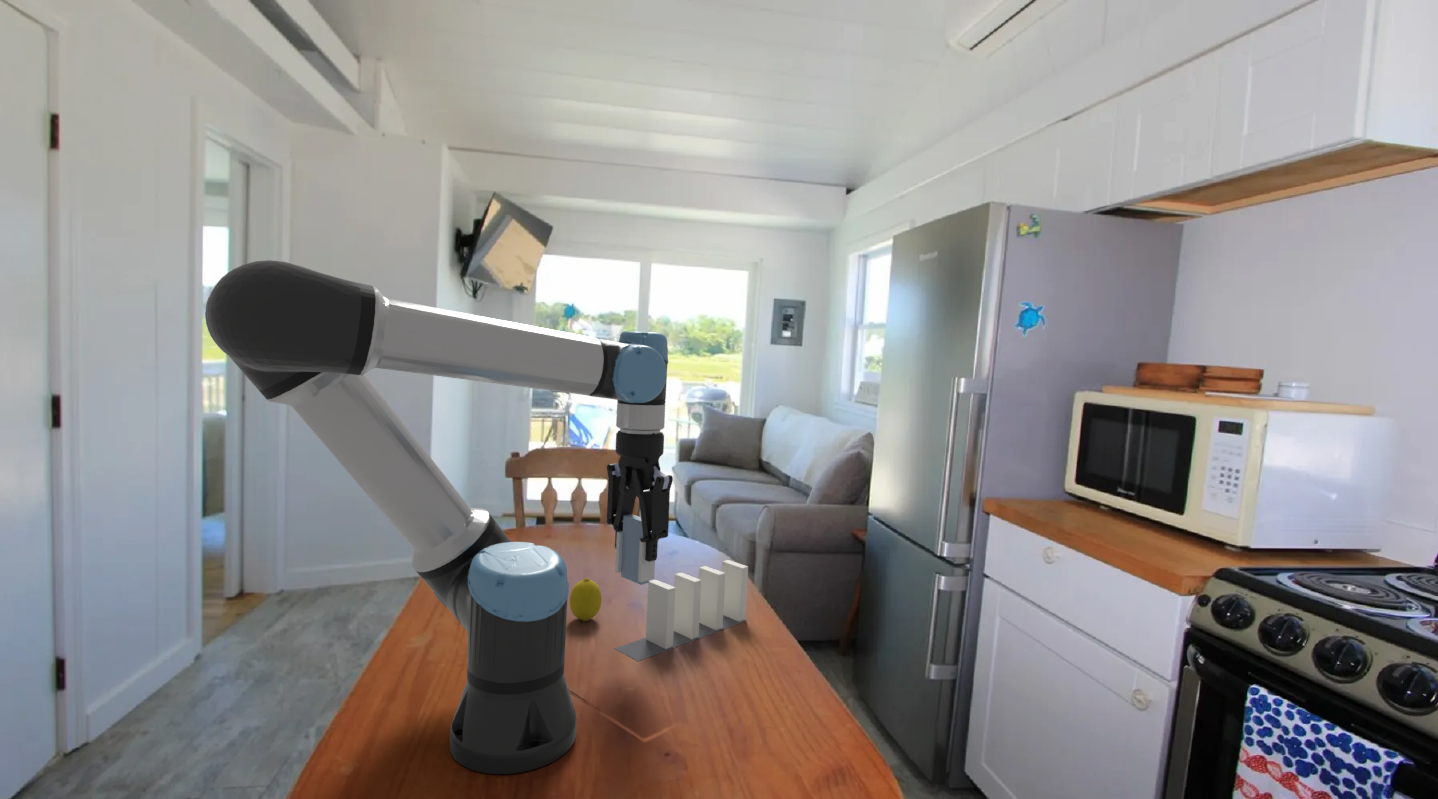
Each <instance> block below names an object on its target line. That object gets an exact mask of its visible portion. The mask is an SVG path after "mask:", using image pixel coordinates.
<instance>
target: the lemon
mask: <svg viewBox="0 0 1438 799" xmlns="http://www.w3.org/2000/svg"><path fill="white" fill-rule="evenodd" d="M601 592H602V591H601V590H600V586H599V585H598V584H597V583H596V582H595V581H593V580H591V579H589V578H588V577H585V578H583V579H581V580H579V581H578V582H577V583H576V584H574V586H573V588H572V590H571V593H570V597H569V607H570V611H571V613H572V614H573V616H574V617H575V618H577V619H579V620H581V621H582V622H588V621H590V620H591V619H593V618H594V617H596V616H597V614H598V613H599V612H600V609H601V606H602V593H601Z"/></svg>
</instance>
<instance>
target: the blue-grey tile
mask: <svg viewBox="0 0 1438 799" xmlns="http://www.w3.org/2000/svg"><path fill="white" fill-rule="evenodd" d="M650 533H651V531H650ZM640 538H643V529H642V521H641V516H639V515H636V514H635V515H634V514H633V513H632V514H629V515H623V542H622V567H621V572H620V577H621V578H624V579H626V580H629V581H631V582H633V583H636V584H638V585H641V586H642V585H645V584H648V583H649V581H650V580H648V581H644V582H639V581H638V567H639V542H640Z"/></svg>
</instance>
